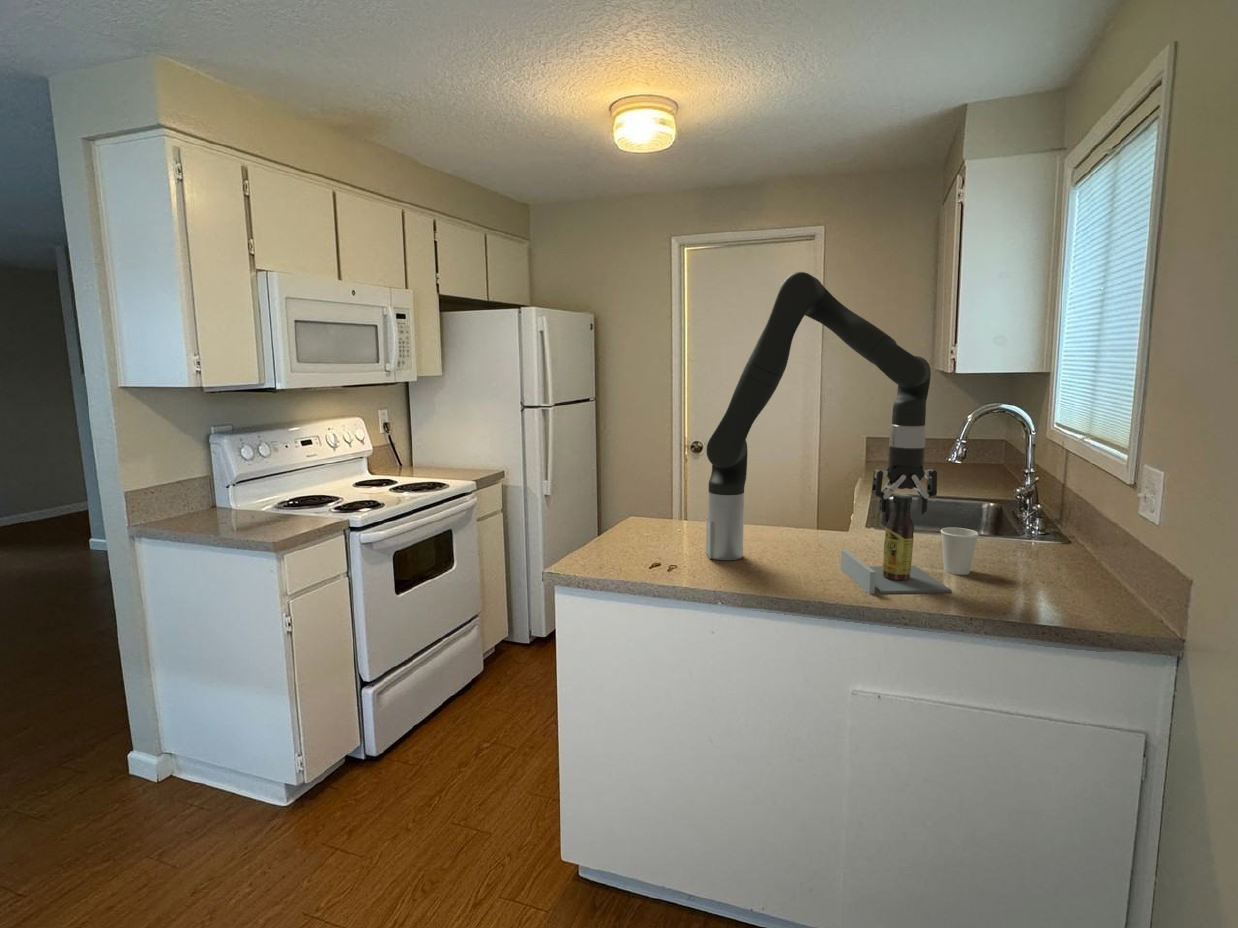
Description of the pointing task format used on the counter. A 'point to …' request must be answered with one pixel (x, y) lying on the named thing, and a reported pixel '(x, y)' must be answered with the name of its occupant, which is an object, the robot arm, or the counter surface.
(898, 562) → the sauce bottle
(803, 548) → the counter surface
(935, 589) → the slate mat
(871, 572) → the low wall
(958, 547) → the dixie cup
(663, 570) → the counter surface
